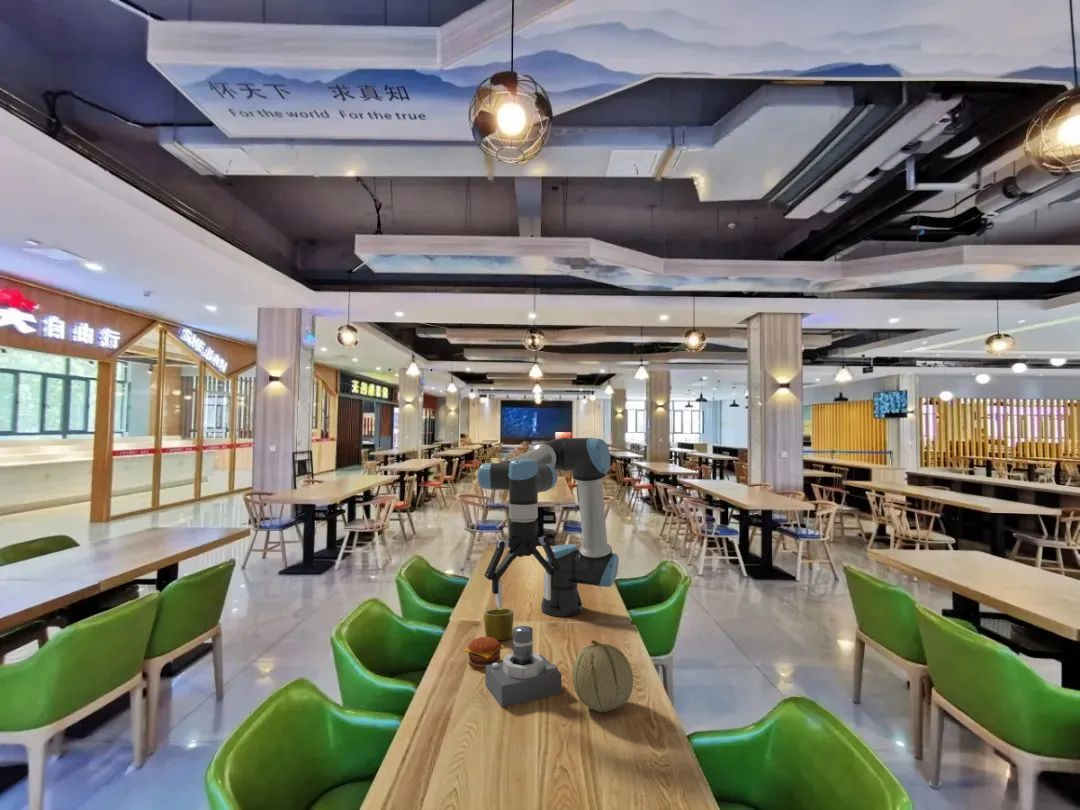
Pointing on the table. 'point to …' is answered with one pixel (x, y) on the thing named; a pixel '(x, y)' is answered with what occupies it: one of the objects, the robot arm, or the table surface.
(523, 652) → the lens
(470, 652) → the hamburger
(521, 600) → the table surface
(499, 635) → the mug
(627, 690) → the cantaloupe
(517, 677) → the camera body
